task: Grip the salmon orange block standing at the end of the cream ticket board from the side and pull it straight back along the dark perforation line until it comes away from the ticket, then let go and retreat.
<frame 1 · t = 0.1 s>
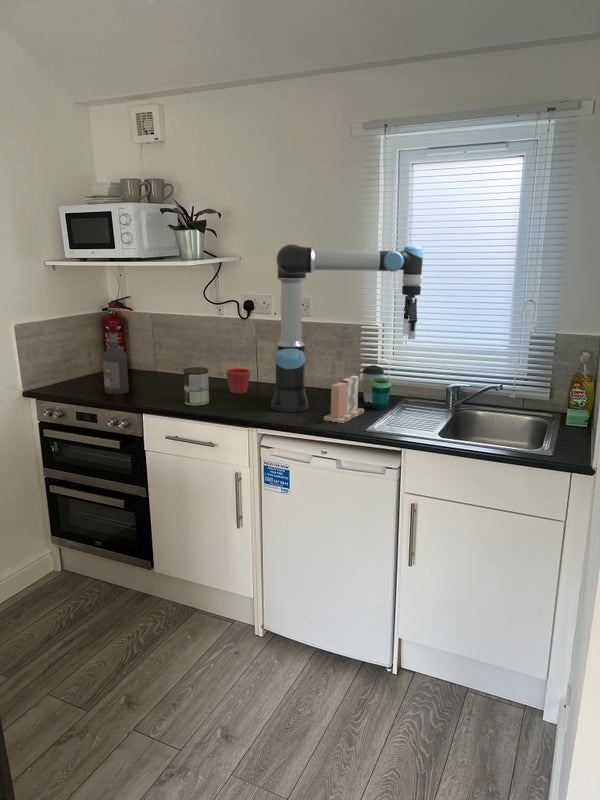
hand: (408, 336, 257), 28 cm above the table, tool pointing down, fingers open, 13 cm apart
coffee can: (196, 402, 258), on the table
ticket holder: (343, 417, 239), on the table
cup: (380, 408, 252), on the table
coffee cup: (372, 401, 264), on the table
liquor: (117, 392, 275), on the table
flower pot: (238, 391, 279), on the table
salmon orange block: (339, 399, 233), point 8 cm above the table, slide at 0.0 cm
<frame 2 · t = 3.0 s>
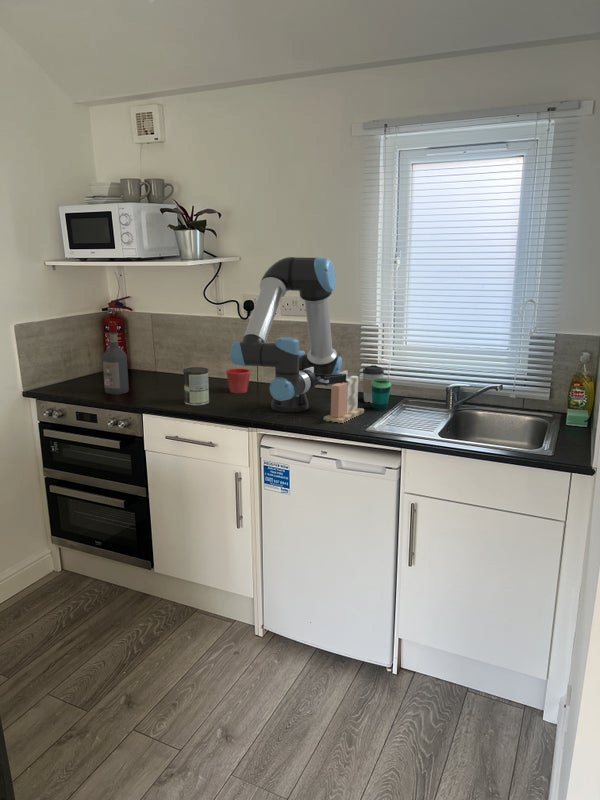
hand: (329, 372, 223), 20 cm above the table, tool horizontal, fingers open, 13 cm apart
nothing on the table moved.
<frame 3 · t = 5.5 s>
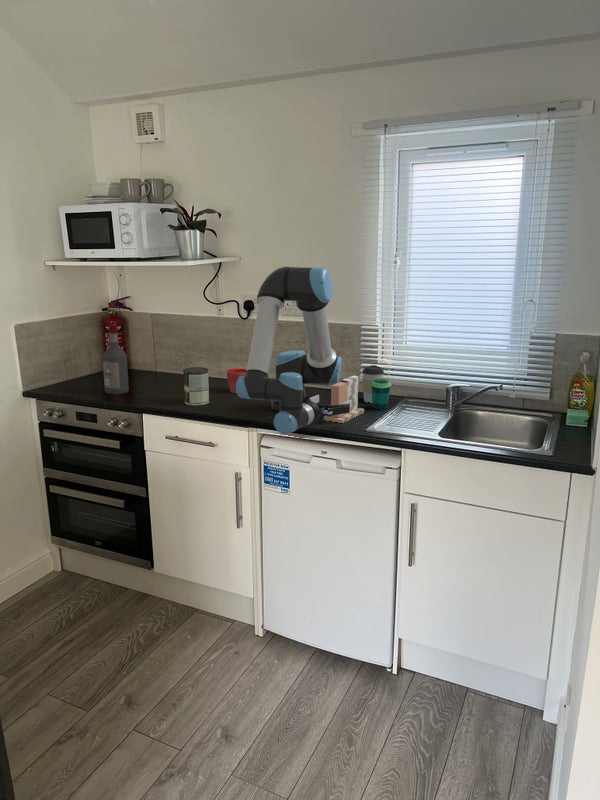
hand: (334, 401, 230), 8 cm above the table, tool horizontal, fingers open, 13 cm apart
nothing on the table moved.
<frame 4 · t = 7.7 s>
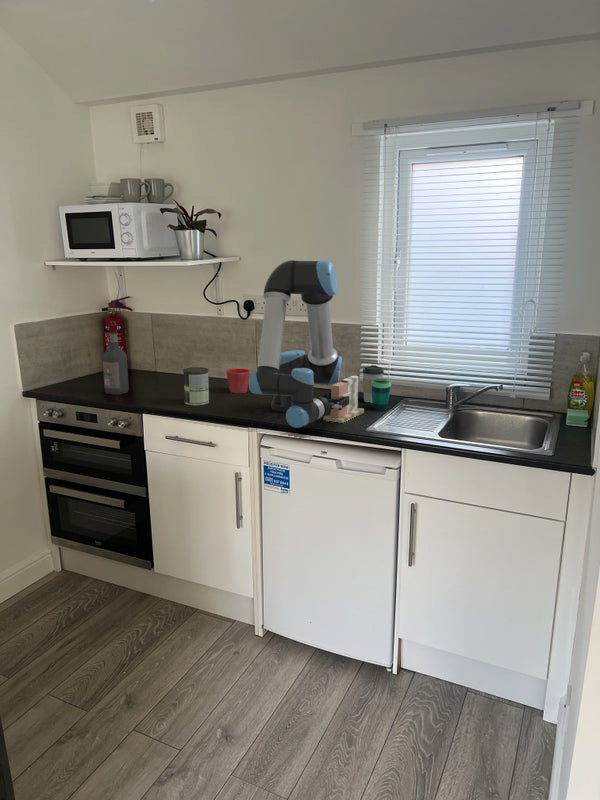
hand: (345, 395, 238), 8 cm above the table, tool horizontal, fingers closed on salmon orange block, 3 cm apart
salmon orange block: (339, 399, 233), point 8 cm above the table, slide at 0.0 cm, touching gripper
everything else where it was.
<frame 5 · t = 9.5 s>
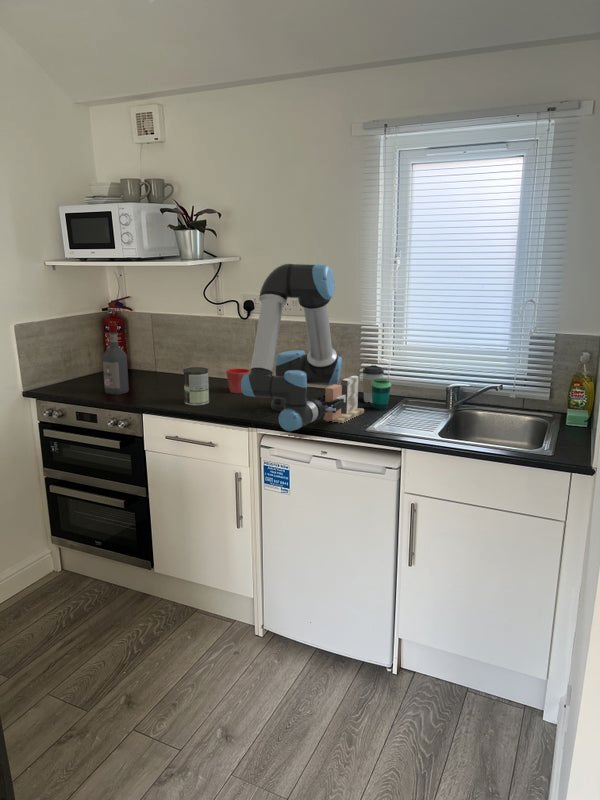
hand: (339, 397, 234), 8 cm above the table, tool horizontal, fingers closed on salmon orange block, 3 cm apart
salmon orange block: (333, 402, 230), point 8 cm above the table, slide at 4.7 cm, touching gripper
everything else where it was.
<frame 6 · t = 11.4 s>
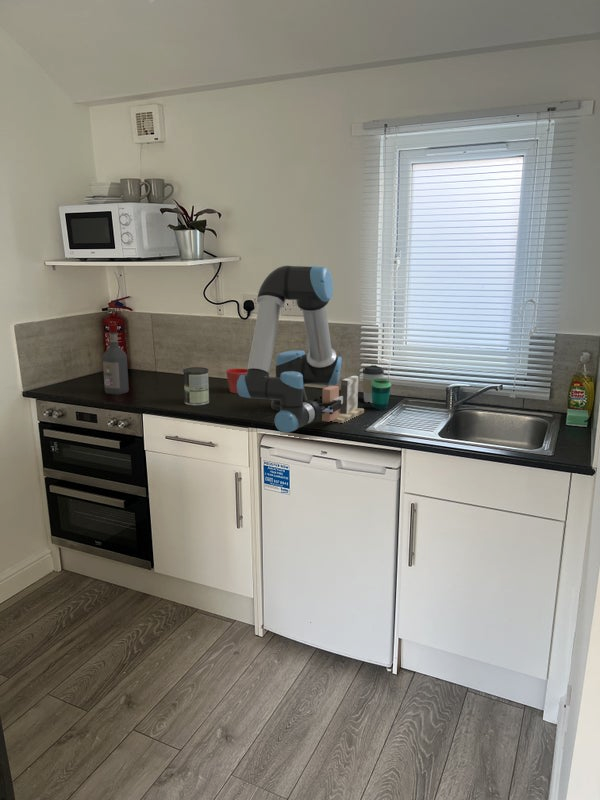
hand: (337, 398, 232), 8 cm above the table, tool horizontal, fingers open, 3 cm apart
salmon orange block: (330, 403, 228), point 8 cm above the table, slide at 7.0 cm
everything else where it was.
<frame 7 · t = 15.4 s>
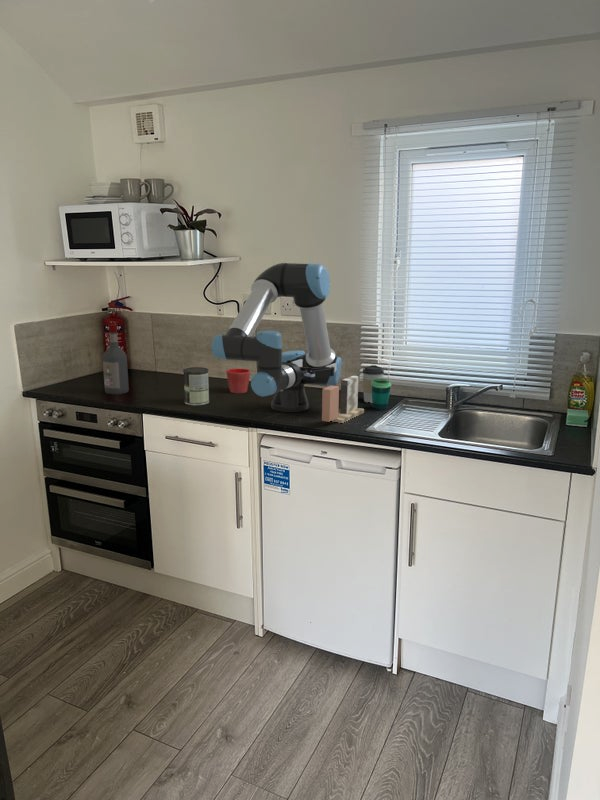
hand: (318, 364, 215), 24 cm above the table, tool horizontal, fingers open, 13 cm apart
nothing on the table moved.
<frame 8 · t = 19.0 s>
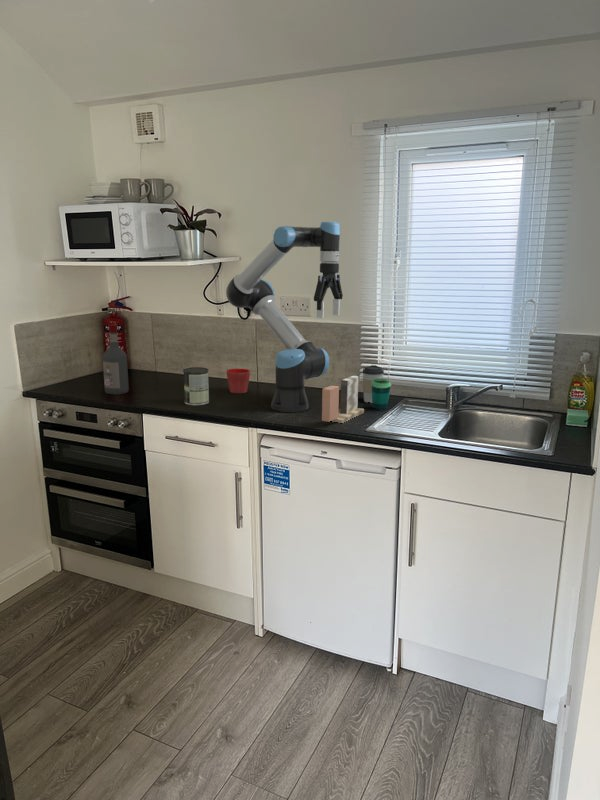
hand: (328, 316, 247), 37 cm above the table, tool pointing down, fingers open, 13 cm apart
nothing on the table moved.
at the end: salmon orange block slide at 7.0 cm; the gripper is holding nothing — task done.
